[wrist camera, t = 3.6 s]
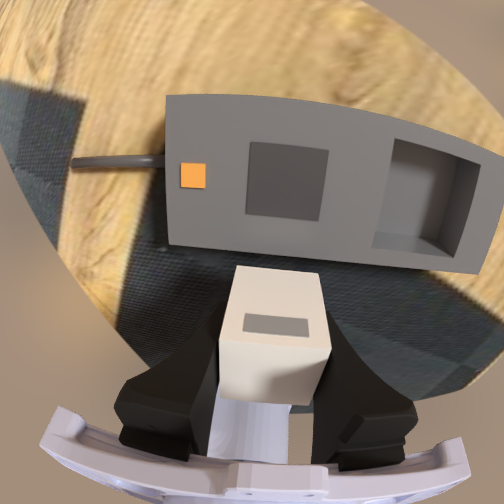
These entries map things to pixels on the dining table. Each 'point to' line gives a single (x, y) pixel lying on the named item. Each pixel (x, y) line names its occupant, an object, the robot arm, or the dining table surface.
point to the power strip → (322, 183)
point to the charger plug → (273, 337)
